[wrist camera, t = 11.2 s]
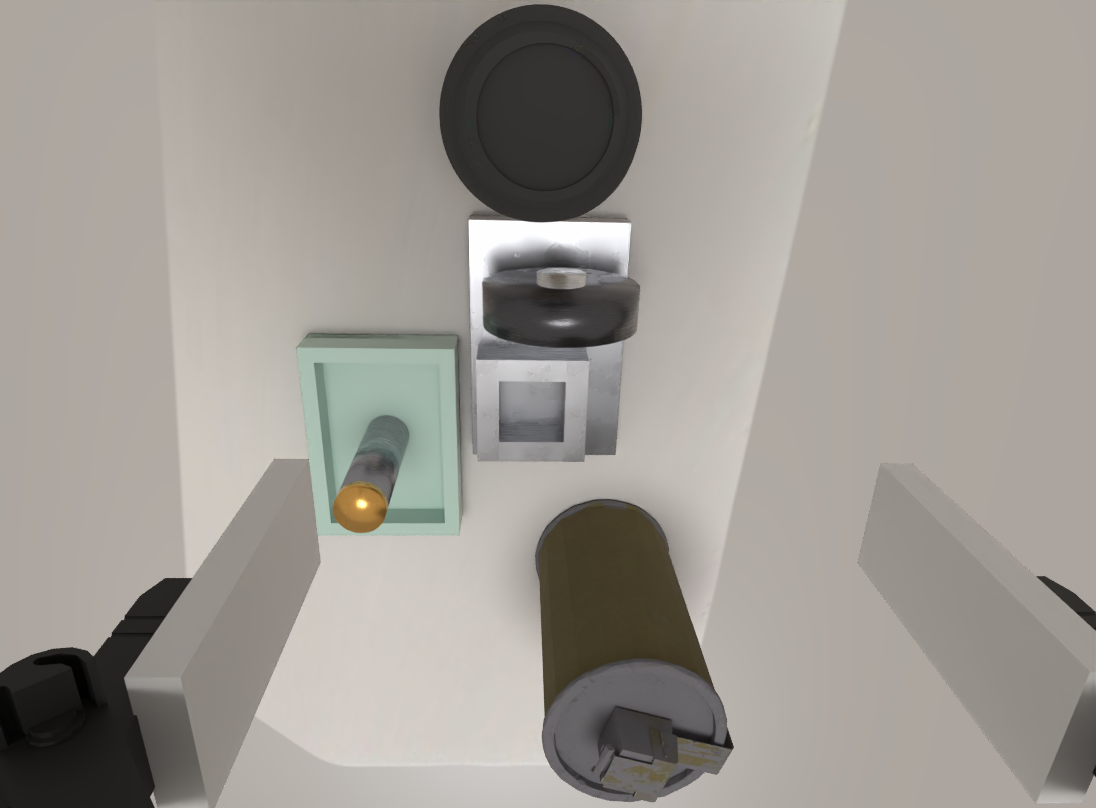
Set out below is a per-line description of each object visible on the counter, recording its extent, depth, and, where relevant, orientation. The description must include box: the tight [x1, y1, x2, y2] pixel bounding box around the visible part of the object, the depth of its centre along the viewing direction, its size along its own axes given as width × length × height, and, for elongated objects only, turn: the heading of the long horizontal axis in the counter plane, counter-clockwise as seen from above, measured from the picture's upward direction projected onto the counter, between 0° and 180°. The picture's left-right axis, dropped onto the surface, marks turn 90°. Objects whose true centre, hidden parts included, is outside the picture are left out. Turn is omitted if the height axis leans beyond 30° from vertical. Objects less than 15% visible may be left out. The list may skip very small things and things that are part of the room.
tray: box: [296, 334, 462, 535], centre depth 50 cm, size 14×10×3 cm
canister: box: [535, 500, 734, 802], centre depth 47 cm, size 11×10×20 cm
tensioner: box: [469, 215, 640, 462], centre depth 44 cm, size 16×10×11 cm, turn 179°
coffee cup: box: [440, 5, 642, 223], centre depth 37 cm, size 9×9×15 cm
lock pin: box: [333, 415, 409, 533], centre depth 46 cm, size 3×3×10 cm
